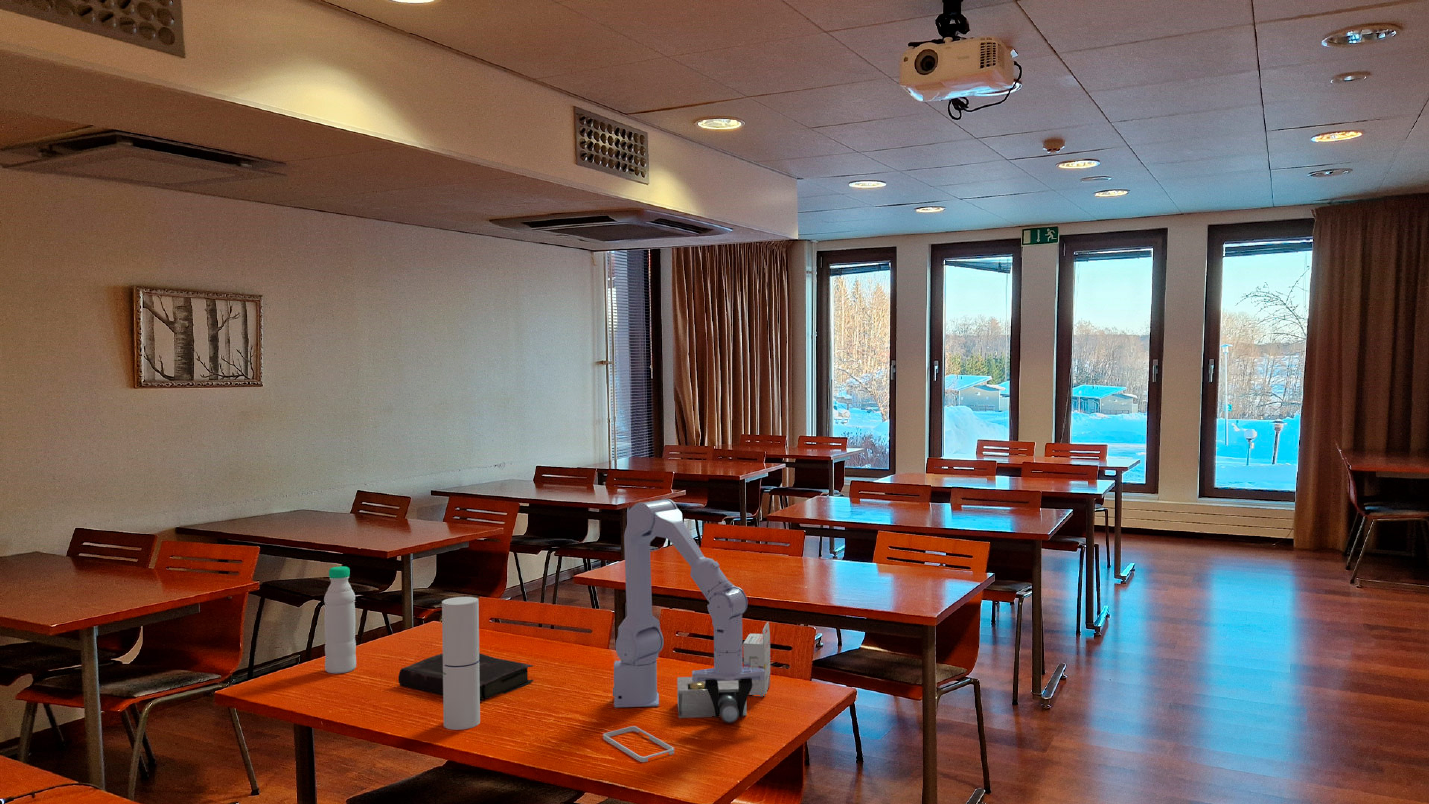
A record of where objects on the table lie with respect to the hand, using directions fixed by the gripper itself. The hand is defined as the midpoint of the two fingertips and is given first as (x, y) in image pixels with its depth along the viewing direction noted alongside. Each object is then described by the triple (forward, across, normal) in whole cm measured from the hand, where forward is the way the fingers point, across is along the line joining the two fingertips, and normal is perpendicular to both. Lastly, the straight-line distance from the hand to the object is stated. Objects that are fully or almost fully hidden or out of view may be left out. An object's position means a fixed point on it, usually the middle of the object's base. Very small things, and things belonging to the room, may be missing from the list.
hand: (728, 716), depth 188 cm
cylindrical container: (+2, -54, +5) cm, 54 cm away
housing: (+1, -3, +8) cm, 9 cm away
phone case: (+2, -18, -10) cm, 21 cm away
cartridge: (+1, 0, +4) cm, 4 cm away
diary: (+2, -58, +31) cm, 66 cm away
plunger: (-3, -6, +6) cm, 9 cm away
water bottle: (+2, -91, +45) cm, 102 cm away
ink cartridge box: (+2, +8, +20) cm, 22 cm away
